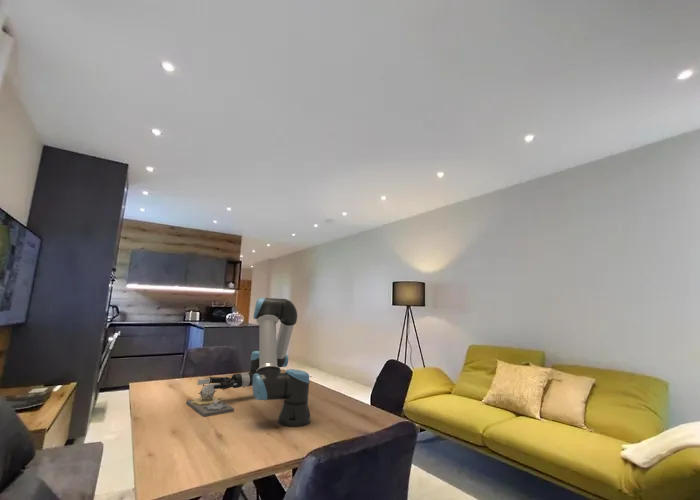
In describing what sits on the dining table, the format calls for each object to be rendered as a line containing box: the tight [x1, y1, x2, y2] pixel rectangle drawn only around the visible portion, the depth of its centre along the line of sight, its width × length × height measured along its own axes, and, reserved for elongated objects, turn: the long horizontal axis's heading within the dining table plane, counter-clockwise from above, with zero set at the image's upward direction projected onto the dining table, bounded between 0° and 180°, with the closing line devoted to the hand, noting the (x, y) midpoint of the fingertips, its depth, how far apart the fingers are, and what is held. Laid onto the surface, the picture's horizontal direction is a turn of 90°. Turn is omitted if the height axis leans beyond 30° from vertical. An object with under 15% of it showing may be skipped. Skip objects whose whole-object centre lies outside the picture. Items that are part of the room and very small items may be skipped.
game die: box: [197, 384, 216, 401], centre depth 177 cm, size 9×8×10 cm
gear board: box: [186, 395, 235, 418], centre depth 173 cm, size 26×15×5 cm, turn 43°
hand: (202, 384), depth 176 cm, fingers open, 13 cm apart
